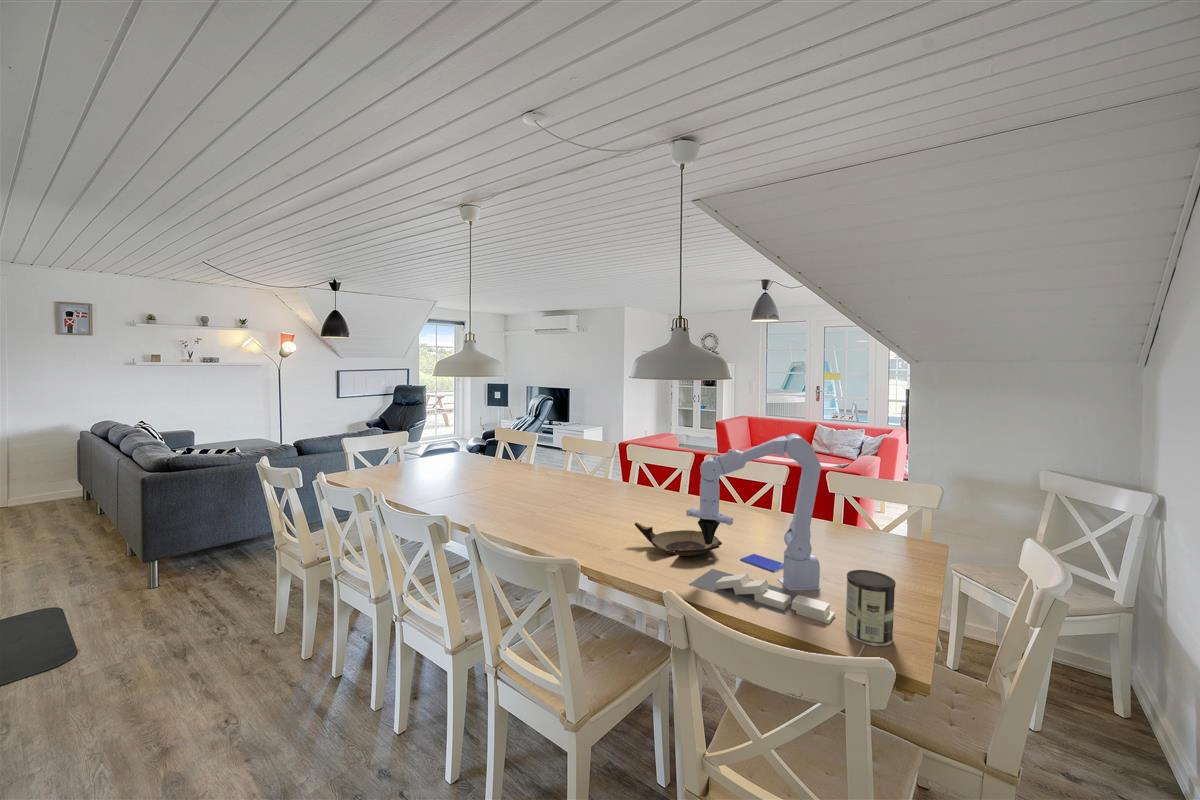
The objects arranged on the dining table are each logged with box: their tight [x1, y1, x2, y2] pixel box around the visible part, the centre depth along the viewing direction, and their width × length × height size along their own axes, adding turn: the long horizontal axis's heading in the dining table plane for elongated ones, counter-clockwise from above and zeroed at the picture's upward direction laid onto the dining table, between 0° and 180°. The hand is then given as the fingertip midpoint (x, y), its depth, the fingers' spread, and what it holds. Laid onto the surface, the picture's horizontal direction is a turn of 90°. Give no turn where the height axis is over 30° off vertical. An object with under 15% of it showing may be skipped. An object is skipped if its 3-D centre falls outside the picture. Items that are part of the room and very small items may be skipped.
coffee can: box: [845, 569, 896, 647], centre depth 123 cm, size 10×10×14 cm
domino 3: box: [754, 589, 791, 610], centre depth 139 cm, size 2×5×8 cm
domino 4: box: [791, 595, 831, 618], centre depth 133 cm, size 2×5×8 cm
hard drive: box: [739, 553, 784, 573], centre depth 166 cm, size 2×8×12 cm
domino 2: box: [733, 579, 769, 595], centre depth 143 cm, size 2×5×8 cm
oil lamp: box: [634, 522, 723, 557], centre depth 179 cm, size 22×30×8 cm
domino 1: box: [715, 573, 750, 589], centre depth 147 cm, size 2×5×8 cm
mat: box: [688, 568, 804, 615], centre depth 147 cm, size 28×15×1 cm, turn 51°
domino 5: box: [795, 610, 836, 624], centre depth 132 cm, size 2×5×8 cm
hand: (708, 543), depth 155 cm, fingers closed
